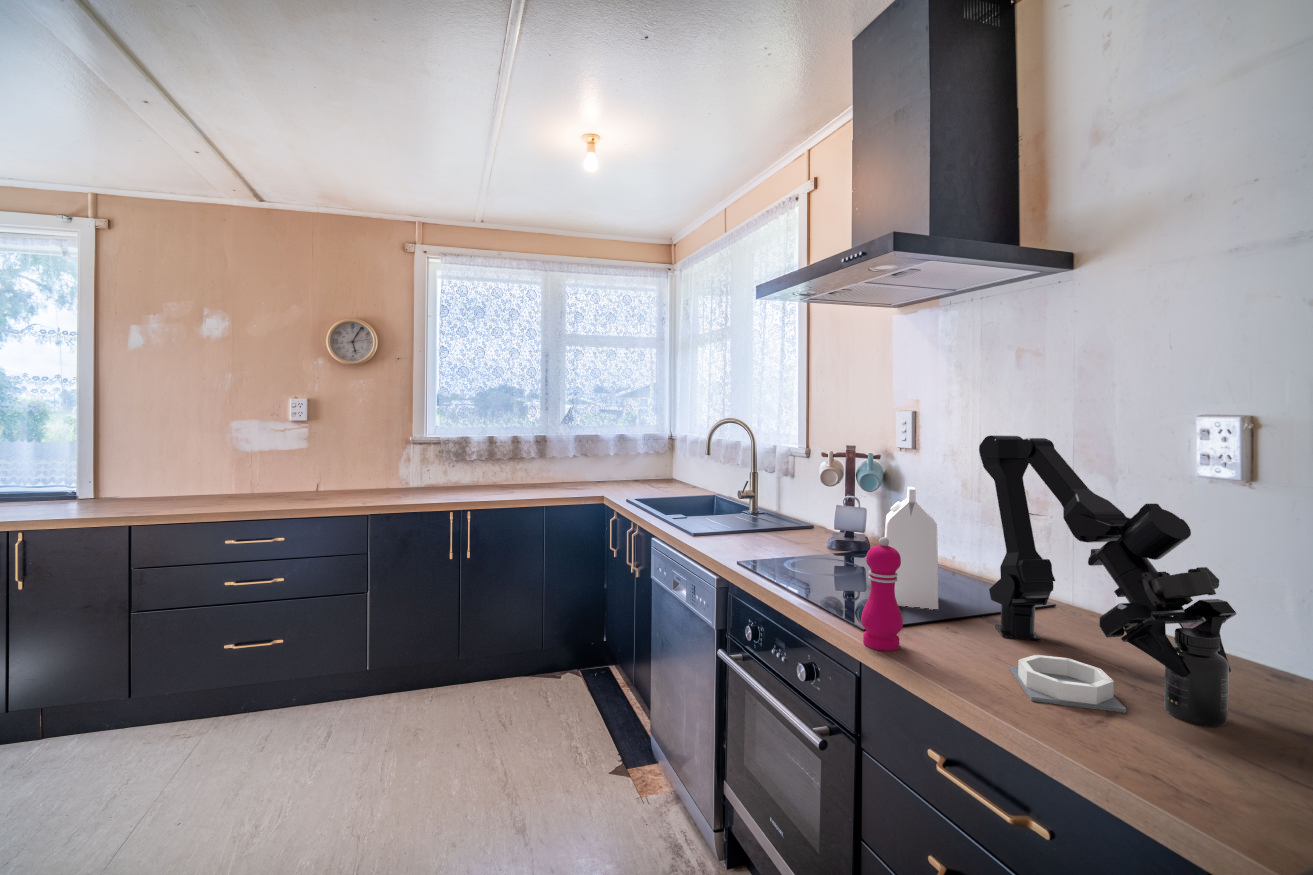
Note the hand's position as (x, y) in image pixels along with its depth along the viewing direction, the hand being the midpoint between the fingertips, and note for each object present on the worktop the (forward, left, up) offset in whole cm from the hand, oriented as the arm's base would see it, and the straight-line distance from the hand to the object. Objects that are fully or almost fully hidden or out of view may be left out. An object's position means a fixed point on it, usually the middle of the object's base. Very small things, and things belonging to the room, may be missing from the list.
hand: (1206, 674), depth 86 cm
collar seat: (-5, -16, -7) cm, 18 cm away
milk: (-49, -34, -7) cm, 60 cm away
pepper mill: (-16, -42, -7) cm, 45 cm away
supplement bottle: (-1, -1, -7) cm, 7 cm away
